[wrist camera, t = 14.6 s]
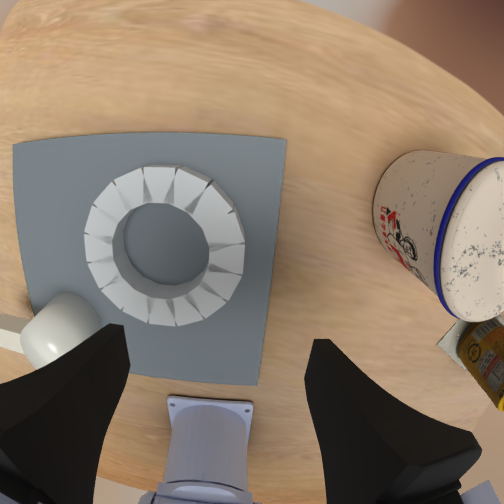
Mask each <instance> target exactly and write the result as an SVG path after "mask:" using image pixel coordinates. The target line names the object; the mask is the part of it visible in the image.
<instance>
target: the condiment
mask: <svg viewBox="0 0 504 504" xmlns="http://www.w3.org/2000/svg"><path fill="white" fill-rule="evenodd" d="M458 334H459V336H458ZM458 337H459V338H458ZM457 338H458V340H457ZM437 345H438V346H439V347H440V348H441V349H443V350H444V351H445V352H446V353H447V354H448V355H449V356H450V357H451V358H452V359H453V360H455V361H456V362H457V363H458V364H459V365H460V366H461V367H462V368H463V369H464V370H466V369H468V371H469V372H470V373H471V375H472V376H473V377H474V379H476V381H477V382H478V384H479V385H480V386H481V388H482V389H483V390H484V391H485V392H486V393H487V395H488V396H489V398H490V399H491V400H492V402H493V403H494V405H495V406H496V408H498V410H500V411H504V321H503V319H502V318H501V316H500V314H499V315H497V316H495V317H493V318H491V319H488V320H485V321H481V322H469V321H464V320H461V319H459V320H457V321H456V323H455V325H454V326H453V327H452V329H451V330H450V331H449V332H448V333H447V334H446V335H445V336H444V338H443V339H442V340H441V341H440V342H439V343H438V344H437Z"/></svg>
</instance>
